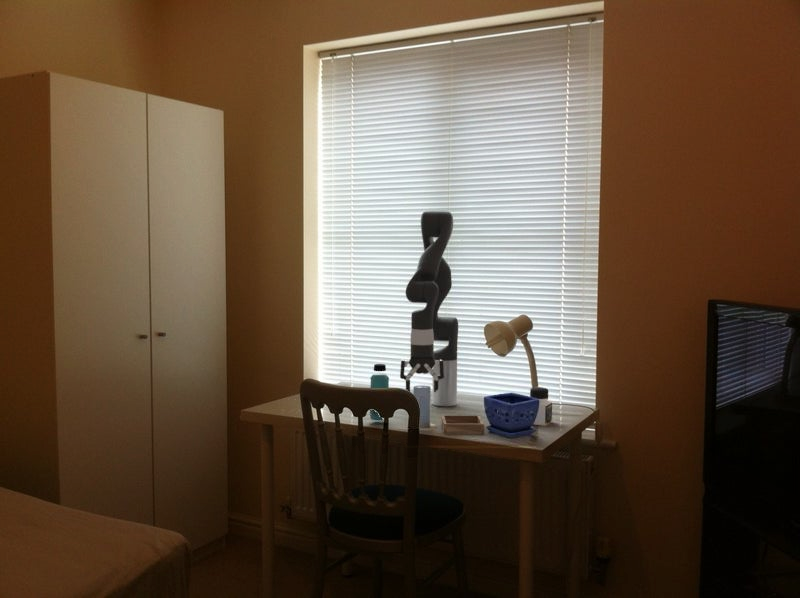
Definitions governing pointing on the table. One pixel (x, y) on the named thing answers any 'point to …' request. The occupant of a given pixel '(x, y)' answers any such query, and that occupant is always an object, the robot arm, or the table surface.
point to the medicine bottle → (542, 406)
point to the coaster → (429, 427)
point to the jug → (423, 404)
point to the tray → (462, 424)
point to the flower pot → (511, 414)
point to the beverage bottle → (378, 385)
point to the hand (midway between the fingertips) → (421, 391)
